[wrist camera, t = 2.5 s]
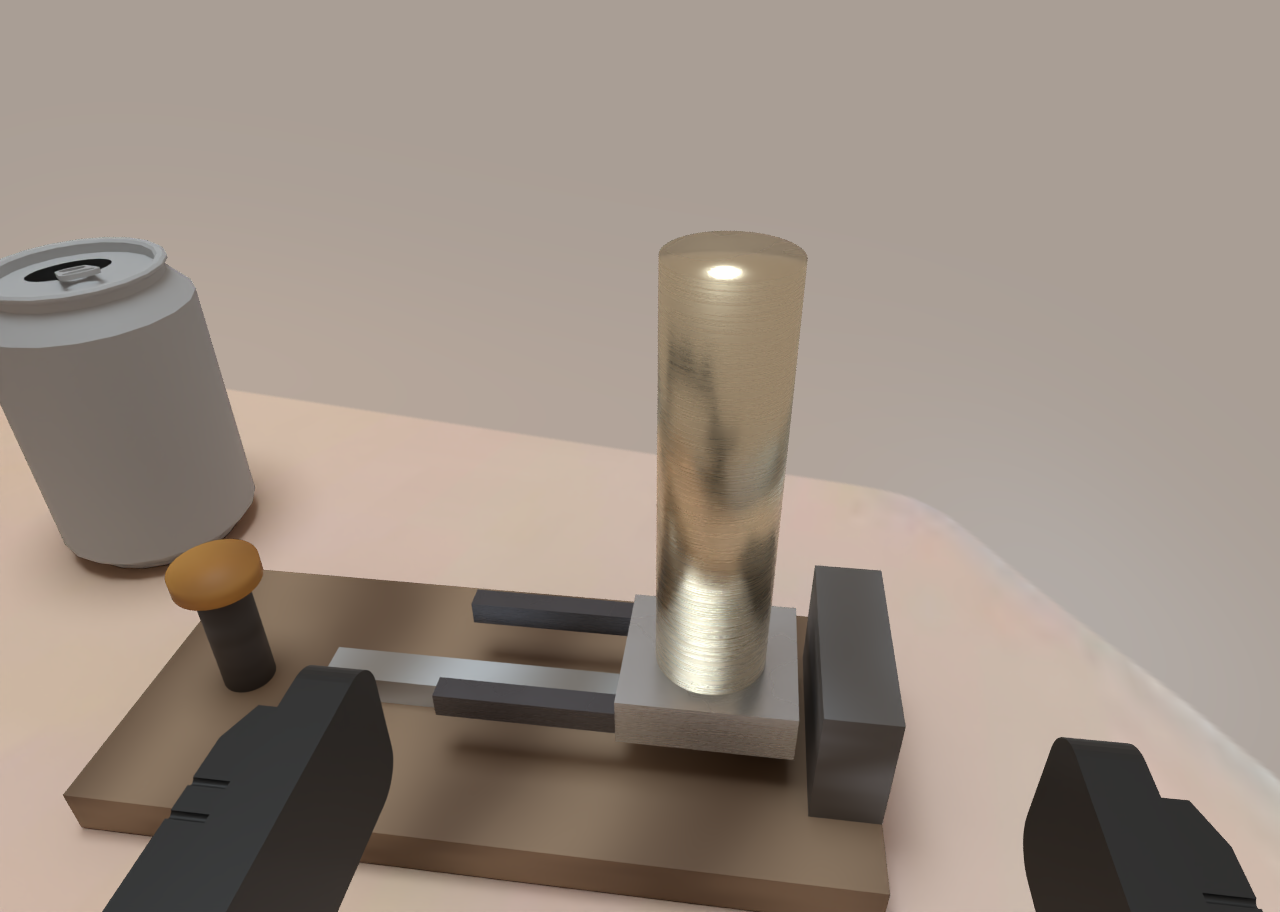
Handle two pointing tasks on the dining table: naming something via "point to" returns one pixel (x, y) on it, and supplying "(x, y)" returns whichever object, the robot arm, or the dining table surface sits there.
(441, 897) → the dining table surface
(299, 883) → the robot arm
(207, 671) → the track
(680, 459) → the slider
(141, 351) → the can
